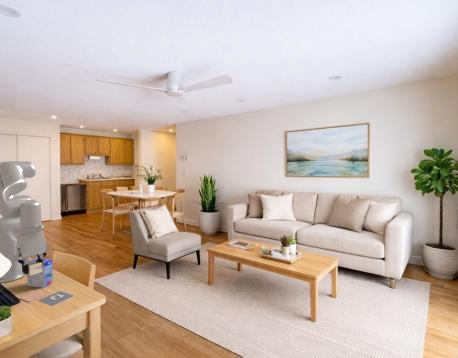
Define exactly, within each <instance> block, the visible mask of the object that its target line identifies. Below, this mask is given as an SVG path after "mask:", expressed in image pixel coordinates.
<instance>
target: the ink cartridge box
mask: <svg viewBox="0 0 458 358" xmlns="http://www.w3.org/2000/svg"><path fill="white" fill-rule="evenodd" d="M45 257H46V256H45ZM45 257H44V260H43V266H42V267H43V269H42V272H41V273H38V274H35V275H31V276H29V275H26V276H27V279H26V280H27V282H26V283H27V287H36V288H41V289H42V288H43V289H44V288H46V287H48V286H50V285H52V284H53V282H54V281H53V280H54V277H53V274H54V273H53V266H54V265H53V264H54V263H53V262H54V261H53V259H51V258H45ZM37 259H38V258H37V257H36V258H32V259H30V260H28V262H27V264H28V263H32V262H35V261H36V260H37Z"/></svg>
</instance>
